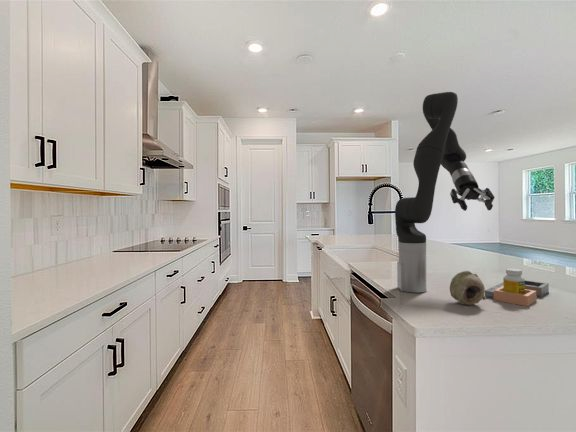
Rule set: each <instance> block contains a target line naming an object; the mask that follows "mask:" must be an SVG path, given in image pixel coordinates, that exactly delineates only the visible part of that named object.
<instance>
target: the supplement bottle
mask: <svg viewBox="0 0 576 432" xmlns="http://www.w3.org/2000/svg"><path fill="white" fill-rule="evenodd" d="M505 273H506V275H503V278H502V279H503V282H502V283H504V291H505V292H511V293H517V294H522V295H525V280H526V279H525V278H524V277H523V276H522V275H523V270H522V269H519V268H506V269H505Z"/></svg>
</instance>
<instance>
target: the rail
mask: <svg viewBox="0 0 576 432" xmlns="http://www.w3.org/2000/svg"><path fill="white" fill-rule="evenodd" d="M549 284H550V283H548V282H541V281H533V280H527V279H525V289H527V290H533V291H536V297H538V298H542V297H544V296H546V295H547V294H548V293H550V292H549V289H550V288H549V287H550V286H549ZM502 286H504V283H503V282H501V283H499V284H496V285H494V286H492V287H490V288H487V289H486V290H485V292H484V296H485V297H486V298H489V299H494V290H495V289H497V288H500V287H502Z"/></svg>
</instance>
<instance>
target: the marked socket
mask: <svg viewBox="0 0 576 432" xmlns="http://www.w3.org/2000/svg"><path fill="white" fill-rule="evenodd" d="M493 300H495V301H500V302H504V303H508V304H514V305H519V306H523V305H524V307H529V306H531V305H532V304H534V303H535V302H536V301H537V296H536V291H533V290H527V289H525V295H522V294H517V293H511V292H505V291H504V286H502V287H500V288H497V289H495V290H494V298H493ZM530 304H531V305H530Z"/></svg>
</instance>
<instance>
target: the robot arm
mask: <svg viewBox="0 0 576 432" xmlns="http://www.w3.org/2000/svg"><path fill="white" fill-rule="evenodd" d="M458 99H459V98H458V94H457V93H456V92H455V91H443V92H437V93H432V94H428V95H426V96H425V97H424V99H423V102H422V114H423V116H424V118H425V121H426V122H427V123H428V125H429V127H430V129H431V131H430V132H429V133H428V134H426V135H425V137H424V138H423V139H422V140H421V141H420V142H419V143H418V145H417V147H416V151H415V154H414V159H413V169H414V171H415V172H414V173H415V175H416V176H417V179H418V188H417V192H416V195H415V197H414V196H413V197H411V196H410V197H403V198H400V199H399V200H398V201H397V202H396V204H395V209H394V218H395V219H394V220H395V232H396V235H397V239H398V240H397V241H398V261H397V263H396V268H397V269H396V272H397V275H396V276H397V278H396V279H397V288H398V290H400V291H401V292H407V293H418V294H419V293H425V292H426V291H427V286H428V285H427V236H426V233H425V234H424V232H422V231H419V230H418V229H417V227H416V224H425V223H426V222H427V221H428V220H429V218H431V215H432V211H433V206H434V205H433V204H434V198H435V190H436V185H437V181H438V175H439V171H440V169H441V167H443V169H445V170H446V171H447V172H448V173H449V175H450V177H451V181H452V183H453V185H454V187H455V188H451V191H450V193H449V195H450V198H451V200H452V203H453V204H458V205H459V207H460V209H462V210H463V212H464V211H467V210H468V205H467V203H466V200H467V201H470V200H475V201H478V202H482V203H483V204H484V206H485V207H486V209H487V211H491V210H492V208H493V207H494V204H493V202H494V200H495V195H494V194H493V193H492V192H493V191H491V190H490V188H488V187H486V188H485V189H482V188H480V187H479V184H478V182H477V180H476V178H475V177H474V174H473V173H472V171H470V169H469V167H468V165H467V163H466V162H465V161H466V159H467V154H466V151H465V150H464V149H463V148H462V147H461V146H460V144H459V141H458V136H457V134H456V131H455V129H453V128H452V127H451V126H452V123H453V121H454V118H455V115H456V111H457V108H458V103H459V102H458V101H459V100H458ZM459 196H460V197H459Z"/></svg>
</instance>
